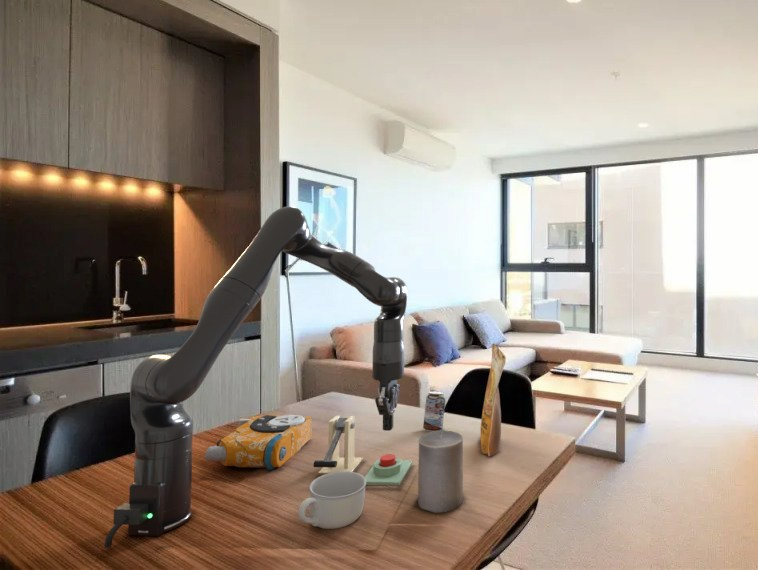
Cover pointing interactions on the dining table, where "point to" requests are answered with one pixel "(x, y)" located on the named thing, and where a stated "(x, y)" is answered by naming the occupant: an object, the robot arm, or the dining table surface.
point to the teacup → (334, 500)
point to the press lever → (332, 446)
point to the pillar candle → (440, 471)
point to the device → (262, 441)
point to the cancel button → (387, 460)
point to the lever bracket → (349, 459)
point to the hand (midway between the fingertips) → (388, 429)
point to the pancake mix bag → (492, 406)
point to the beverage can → (434, 411)
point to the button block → (388, 473)
